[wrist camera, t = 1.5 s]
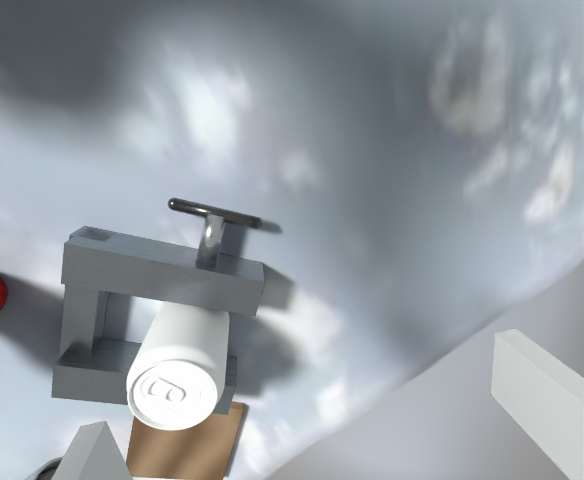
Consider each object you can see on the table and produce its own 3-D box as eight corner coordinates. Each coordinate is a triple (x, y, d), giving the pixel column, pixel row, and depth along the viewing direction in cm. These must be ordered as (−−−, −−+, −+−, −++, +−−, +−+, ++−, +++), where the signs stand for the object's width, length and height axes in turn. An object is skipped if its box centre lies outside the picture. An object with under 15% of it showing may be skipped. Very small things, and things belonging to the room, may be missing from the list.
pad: (126, 468, 43) (123, 476, 42) (139, 391, 40) (137, 398, 39) (222, 474, 46) (222, 481, 45) (243, 403, 43) (243, 409, 42)
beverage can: (207, 357, 40) (193, 446, 28) (145, 329, 37) (102, 415, 26) (242, 306, 38) (242, 380, 27) (179, 274, 36) (150, 340, 25)
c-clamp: (70, 363, 37) (45, 396, 33) (90, 171, 31) (62, 178, 26) (229, 382, 41) (227, 414, 37) (274, 216, 35) (279, 229, 30)
